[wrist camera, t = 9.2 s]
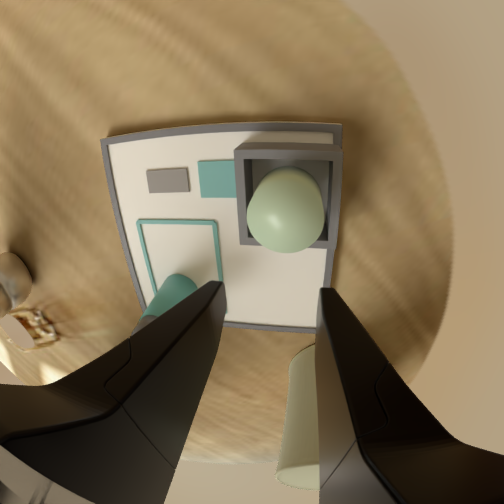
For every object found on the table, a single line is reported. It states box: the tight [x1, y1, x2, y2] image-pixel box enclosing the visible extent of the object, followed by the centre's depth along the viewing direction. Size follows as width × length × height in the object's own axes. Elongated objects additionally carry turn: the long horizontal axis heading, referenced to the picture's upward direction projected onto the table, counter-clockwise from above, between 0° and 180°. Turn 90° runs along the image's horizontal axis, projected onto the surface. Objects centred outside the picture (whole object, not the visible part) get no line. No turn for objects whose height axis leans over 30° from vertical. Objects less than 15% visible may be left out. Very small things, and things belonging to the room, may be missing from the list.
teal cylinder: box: [131, 274, 198, 336], centre depth 21 cm, size 3×3×6 cm
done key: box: [247, 166, 324, 253], centre depth 15 cm, size 4×4×3 cm
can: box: [275, 344, 320, 490], centre depth 21 cm, size 9×9×12 cm
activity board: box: [100, 121, 343, 334], centre depth 20 cm, size 16×16×3 cm
